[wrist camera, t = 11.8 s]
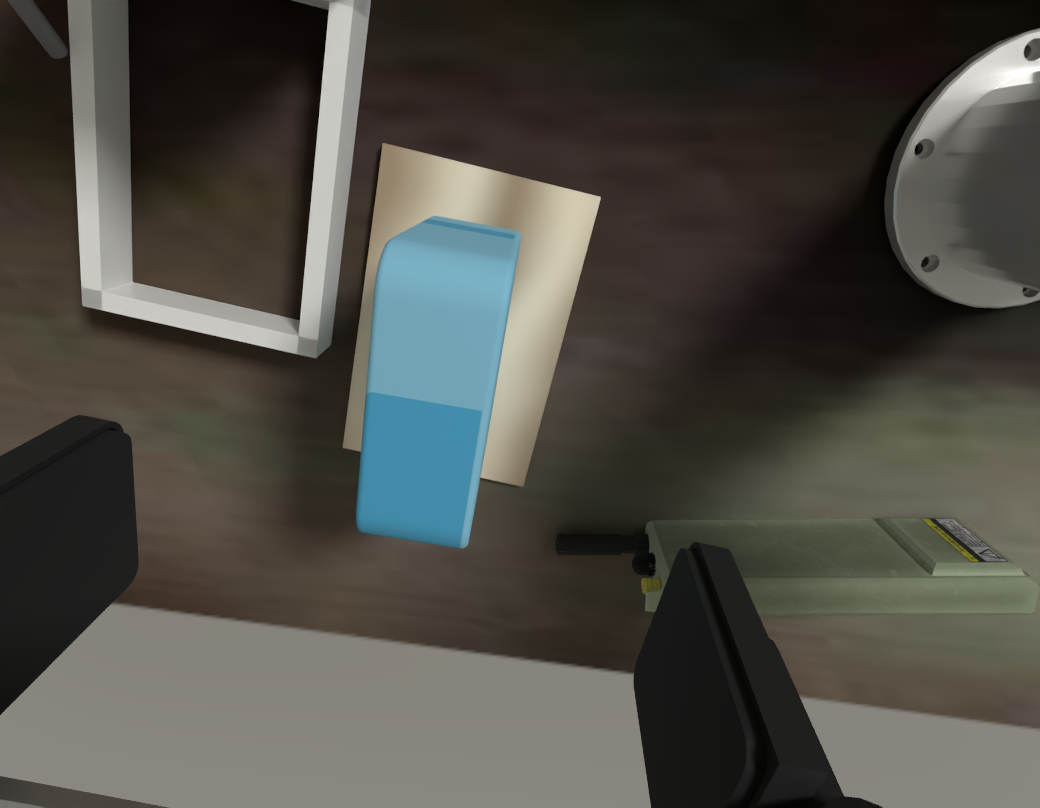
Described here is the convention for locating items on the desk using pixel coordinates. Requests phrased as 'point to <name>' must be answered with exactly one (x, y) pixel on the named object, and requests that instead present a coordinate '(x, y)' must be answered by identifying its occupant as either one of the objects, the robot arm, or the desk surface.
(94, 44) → the stand
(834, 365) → the desk surface
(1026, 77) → the robot arm
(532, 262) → the birch board
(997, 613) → the handheld radio
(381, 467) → the data package
